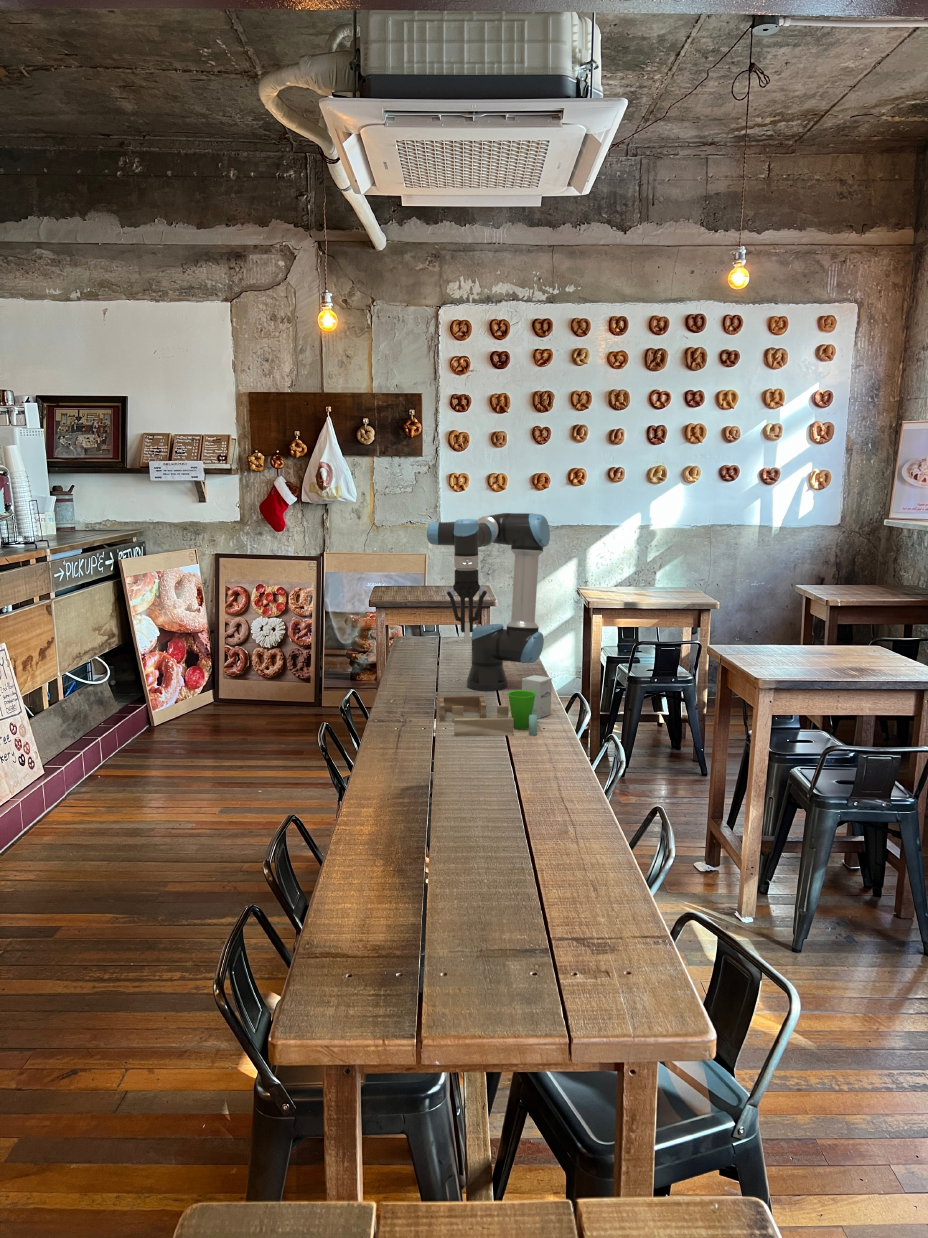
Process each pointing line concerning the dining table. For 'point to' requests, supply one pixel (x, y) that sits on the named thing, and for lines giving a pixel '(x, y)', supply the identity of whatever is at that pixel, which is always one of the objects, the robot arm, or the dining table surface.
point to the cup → (521, 707)
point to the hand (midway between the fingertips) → (467, 642)
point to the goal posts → (532, 725)
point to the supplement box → (539, 694)
